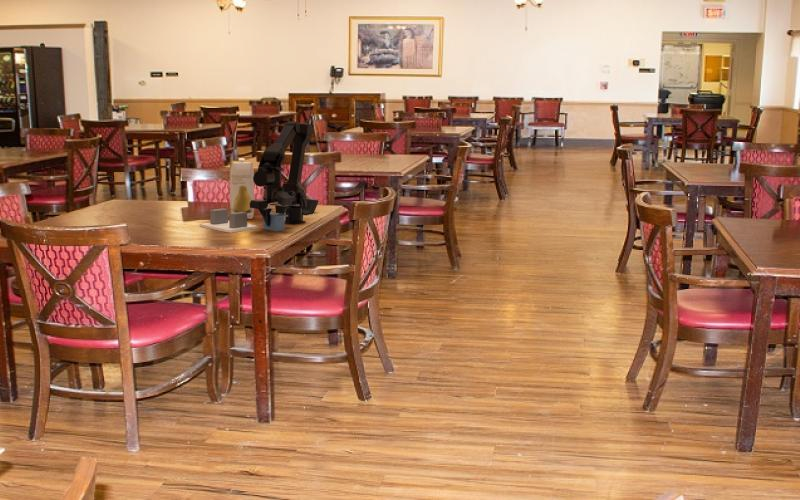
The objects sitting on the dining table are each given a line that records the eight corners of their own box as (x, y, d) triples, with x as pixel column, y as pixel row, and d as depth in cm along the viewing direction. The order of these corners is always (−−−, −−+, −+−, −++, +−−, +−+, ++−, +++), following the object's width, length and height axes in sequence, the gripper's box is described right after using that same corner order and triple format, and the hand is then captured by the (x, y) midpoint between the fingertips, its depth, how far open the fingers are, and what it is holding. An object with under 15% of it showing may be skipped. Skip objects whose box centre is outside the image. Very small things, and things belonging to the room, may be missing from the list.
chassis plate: (227, 222, 341) (227, 206, 340) (257, 228, 330) (257, 212, 329) (199, 226, 332) (199, 210, 330) (230, 232, 320) (230, 216, 319)
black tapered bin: (282, 210, 366) (292, 189, 370) (287, 218, 372) (296, 198, 376) (307, 216, 362) (316, 195, 366) (312, 224, 369) (321, 204, 372)
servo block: (268, 227, 335) (268, 210, 333) (288, 230, 328) (288, 213, 326) (259, 228, 331) (259, 211, 330) (279, 232, 324) (279, 215, 323)
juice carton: (231, 219, 348) (230, 159, 343) (229, 216, 356) (228, 157, 351) (255, 219, 351) (254, 159, 346) (252, 216, 358) (252, 157, 353)
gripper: (268, 188, 314) (269, 231, 317) (306, 183, 328) (306, 225, 331) (248, 185, 321) (249, 227, 324) (286, 181, 335) (286, 221, 338)
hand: (273, 225), depth 329 cm, fingers open, 5 cm apart
